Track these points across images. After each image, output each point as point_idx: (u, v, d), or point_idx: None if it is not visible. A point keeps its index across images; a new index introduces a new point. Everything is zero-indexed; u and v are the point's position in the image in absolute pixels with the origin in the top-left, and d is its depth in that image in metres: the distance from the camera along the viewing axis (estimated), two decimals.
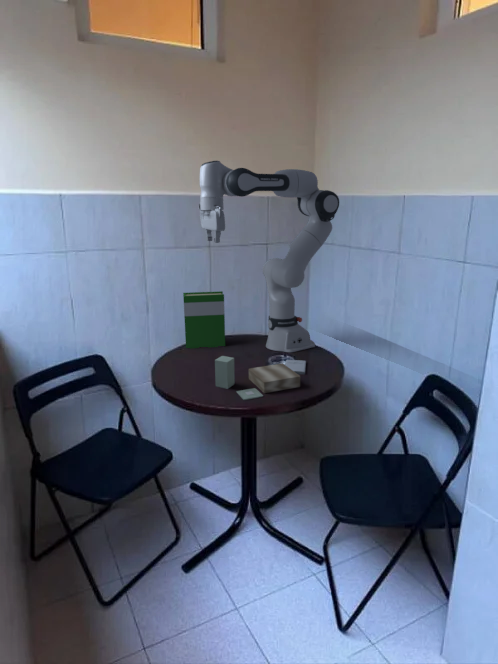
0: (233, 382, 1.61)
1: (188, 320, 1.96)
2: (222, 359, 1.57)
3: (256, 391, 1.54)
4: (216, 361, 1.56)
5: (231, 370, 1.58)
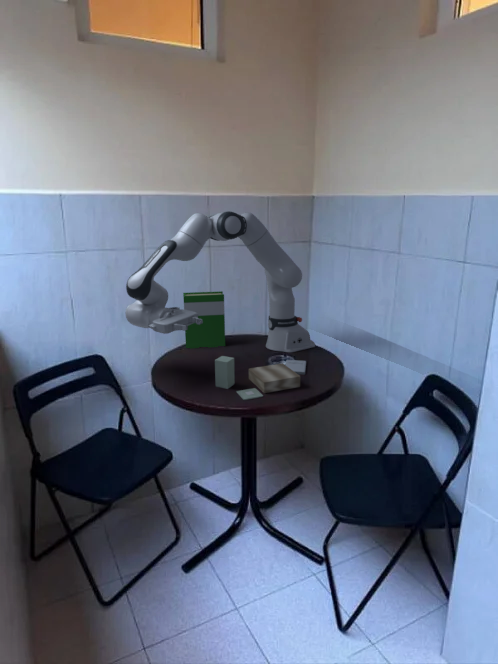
0: (233, 382, 1.61)
1: None
2: (222, 359, 1.57)
3: (256, 391, 1.54)
4: (216, 361, 1.56)
5: (231, 370, 1.58)
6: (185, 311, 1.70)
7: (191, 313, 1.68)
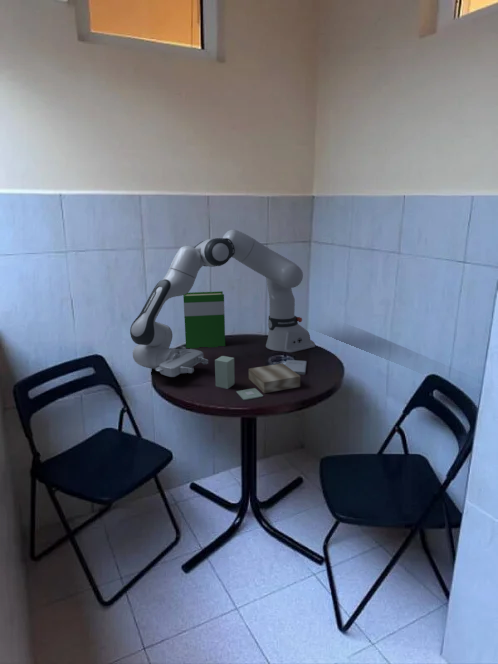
0: (233, 382, 1.61)
1: (188, 320, 1.96)
2: (222, 359, 1.57)
3: (256, 391, 1.54)
4: (216, 361, 1.56)
5: (231, 370, 1.58)
6: (191, 350, 1.74)
7: (197, 353, 1.72)
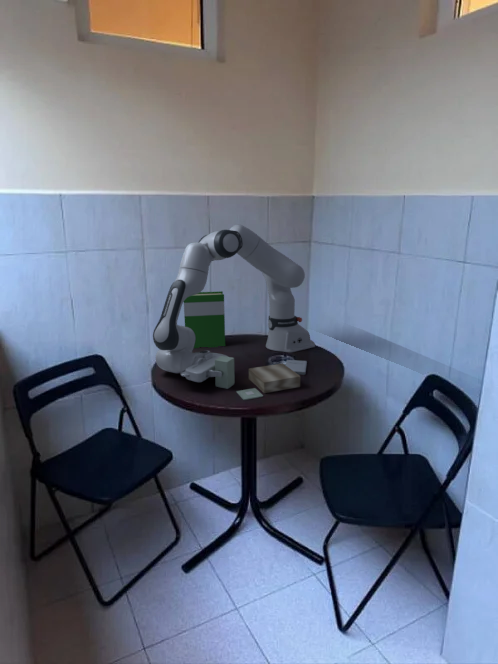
0: (233, 382, 1.61)
1: (188, 320, 1.96)
2: (222, 359, 1.57)
3: (256, 391, 1.54)
4: (216, 361, 1.56)
5: (231, 370, 1.58)
6: (216, 355, 1.69)
7: None
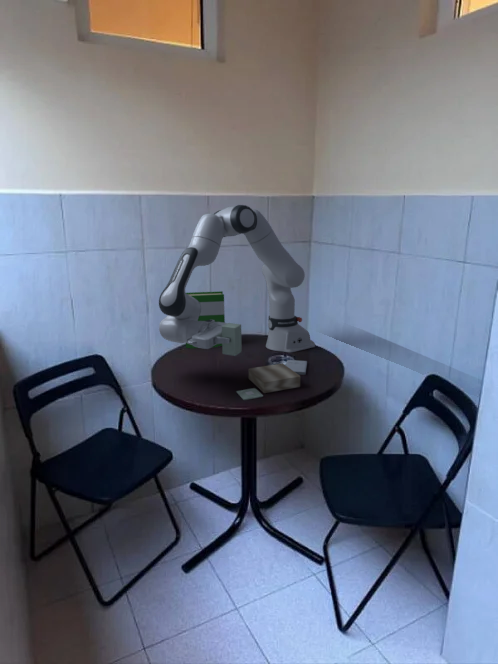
0: (240, 349, 1.57)
1: None
2: (229, 325, 1.54)
3: (256, 391, 1.54)
4: (223, 327, 1.53)
5: (238, 337, 1.55)
6: (221, 323, 1.65)
7: None
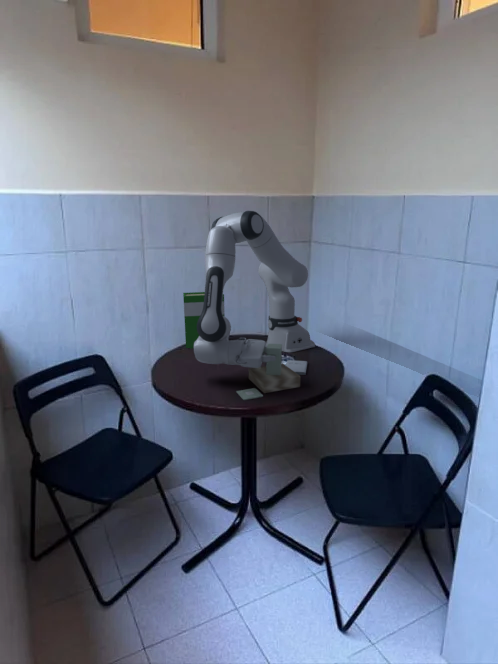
0: None
1: (188, 320, 1.96)
2: (273, 346, 1.58)
3: (256, 391, 1.54)
4: (268, 349, 1.56)
5: None
6: (253, 341, 1.67)
7: (261, 342, 1.66)
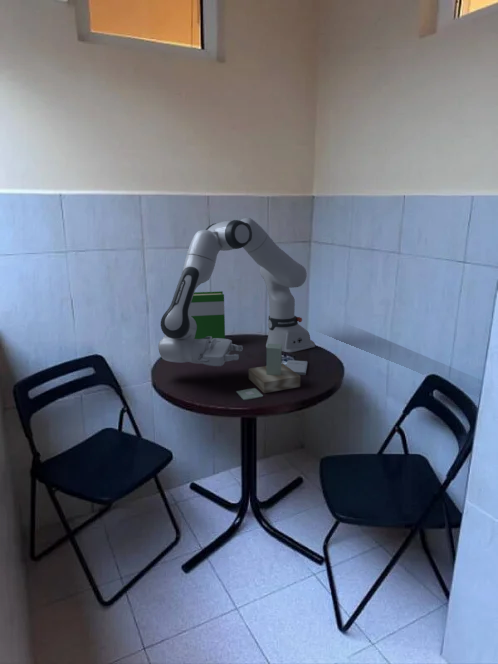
0: None
1: None
2: (273, 346, 1.58)
3: (256, 391, 1.54)
4: (268, 349, 1.56)
5: None
6: (219, 339, 1.69)
7: (227, 341, 1.68)
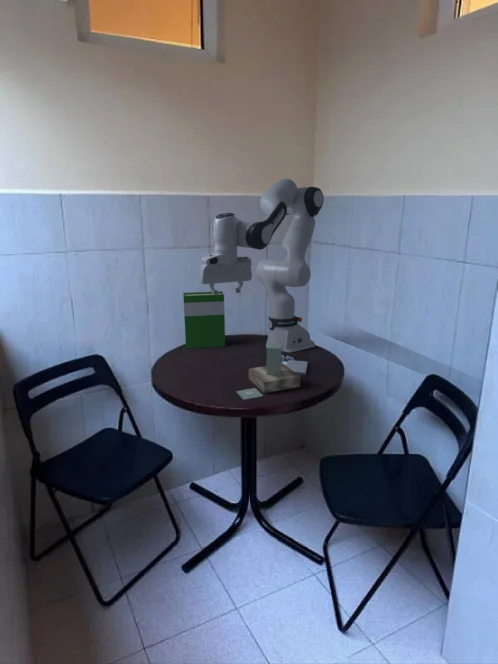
0: None
1: (188, 320, 1.96)
2: (273, 346, 1.58)
3: (256, 391, 1.54)
4: (268, 349, 1.56)
5: None
6: None
7: None
